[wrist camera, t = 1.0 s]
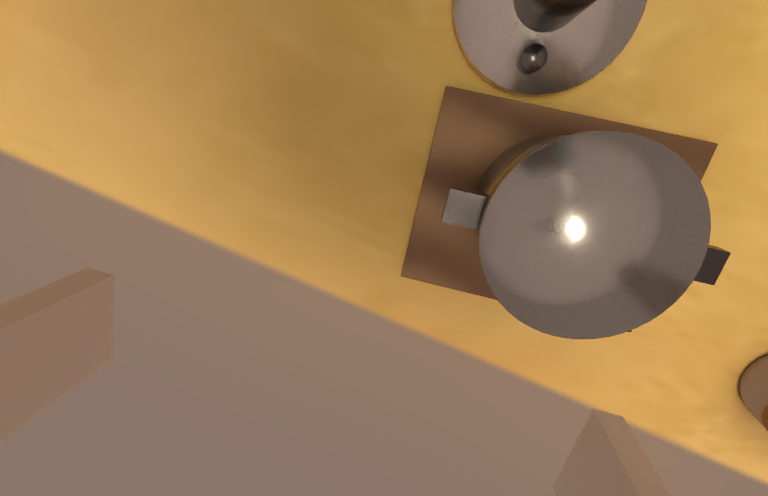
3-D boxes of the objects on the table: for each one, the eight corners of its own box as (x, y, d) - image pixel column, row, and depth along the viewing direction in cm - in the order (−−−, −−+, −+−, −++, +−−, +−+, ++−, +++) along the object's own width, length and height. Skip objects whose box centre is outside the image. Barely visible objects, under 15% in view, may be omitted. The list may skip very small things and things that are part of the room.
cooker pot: (425, 256, 32) (421, 303, 23) (464, 108, 28) (475, 99, 20) (621, 303, 31) (691, 369, 22) (686, 156, 27) (799, 169, 19)
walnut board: (446, 87, 29) (446, 86, 28) (710, 143, 28) (718, 143, 27) (401, 272, 34) (400, 276, 33) (626, 327, 32) (630, 332, 32)
